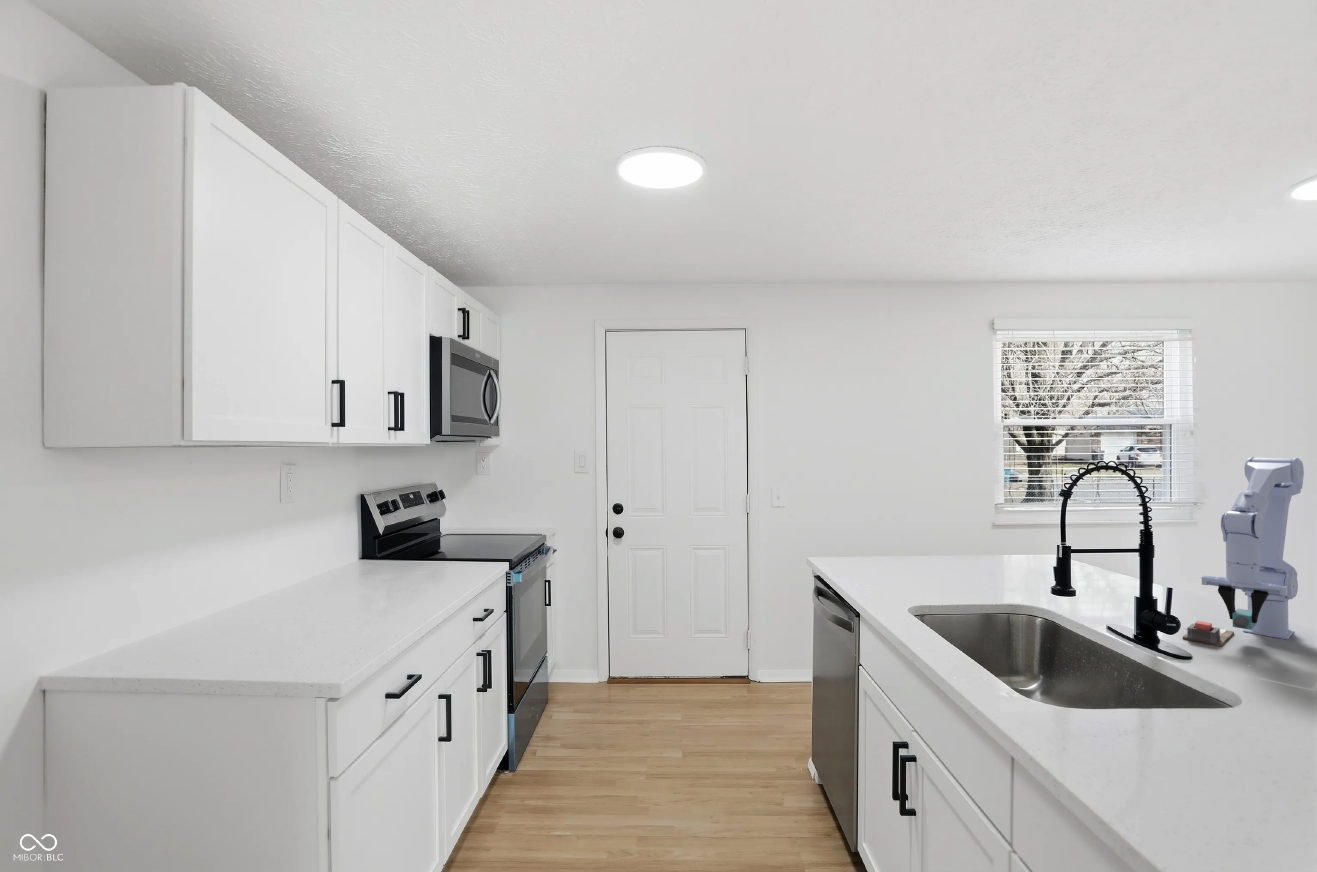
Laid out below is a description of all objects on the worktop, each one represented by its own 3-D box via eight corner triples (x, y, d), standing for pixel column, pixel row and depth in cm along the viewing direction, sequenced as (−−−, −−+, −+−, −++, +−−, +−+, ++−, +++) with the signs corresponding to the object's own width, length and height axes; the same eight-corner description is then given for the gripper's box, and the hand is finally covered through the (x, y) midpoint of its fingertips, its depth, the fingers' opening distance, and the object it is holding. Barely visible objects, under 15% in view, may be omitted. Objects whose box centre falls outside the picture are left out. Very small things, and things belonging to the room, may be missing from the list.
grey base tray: (1197, 627, 158) (1197, 615, 158) (1234, 633, 153) (1233, 621, 153) (1182, 639, 149) (1181, 626, 149) (1220, 646, 144) (1220, 633, 144)
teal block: (1237, 621, 149) (1237, 608, 149) (1256, 624, 147) (1256, 611, 147) (1231, 628, 145) (1231, 614, 145) (1250, 631, 142) (1249, 617, 142)
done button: (1197, 630, 150) (1197, 620, 150) (1212, 633, 148) (1211, 623, 148) (1195, 632, 148) (1194, 622, 148) (1209, 635, 146) (1209, 625, 146)
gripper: (1198, 560, 149) (1199, 616, 149) (1283, 570, 137) (1284, 631, 137) (1205, 556, 153) (1206, 611, 153) (1288, 565, 142) (1289, 624, 142)
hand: (1243, 620), depth 145 cm, fingers closed on teal block, 3 cm apart
